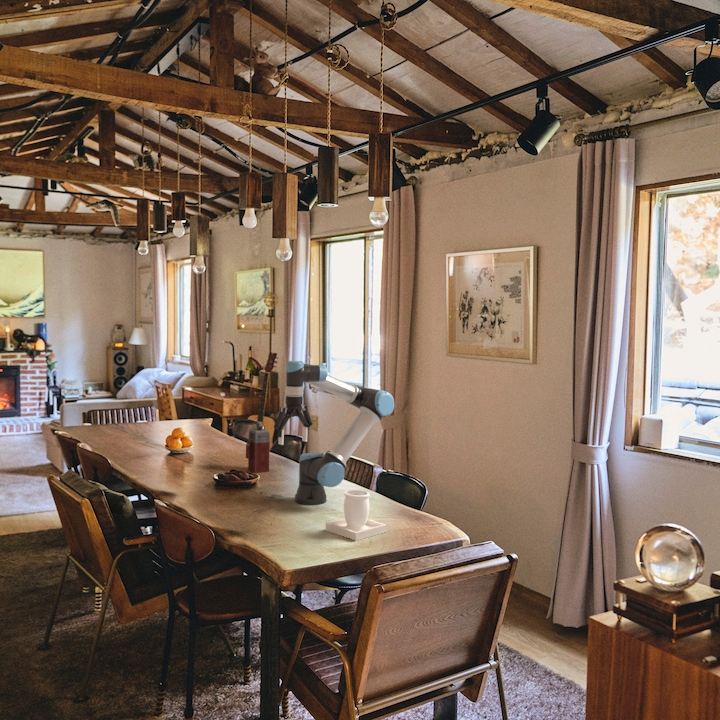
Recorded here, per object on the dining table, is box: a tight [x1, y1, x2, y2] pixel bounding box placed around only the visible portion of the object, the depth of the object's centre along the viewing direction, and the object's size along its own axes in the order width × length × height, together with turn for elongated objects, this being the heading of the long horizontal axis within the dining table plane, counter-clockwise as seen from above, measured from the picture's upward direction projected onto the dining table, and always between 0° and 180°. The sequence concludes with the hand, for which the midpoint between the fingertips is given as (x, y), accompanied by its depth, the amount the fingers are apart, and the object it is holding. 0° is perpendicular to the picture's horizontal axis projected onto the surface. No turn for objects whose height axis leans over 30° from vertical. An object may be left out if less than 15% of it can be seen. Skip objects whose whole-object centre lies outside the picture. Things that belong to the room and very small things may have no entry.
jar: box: [343, 489, 371, 531], centre depth 291 cm, size 11×10×15 cm
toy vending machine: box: [245, 421, 271, 474], centre depth 396 cm, size 9×11×28 cm
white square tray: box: [325, 517, 388, 542], centre depth 292 cm, size 18×18×3 cm
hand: (293, 442), depth 314 cm, fingers open, 13 cm apart
